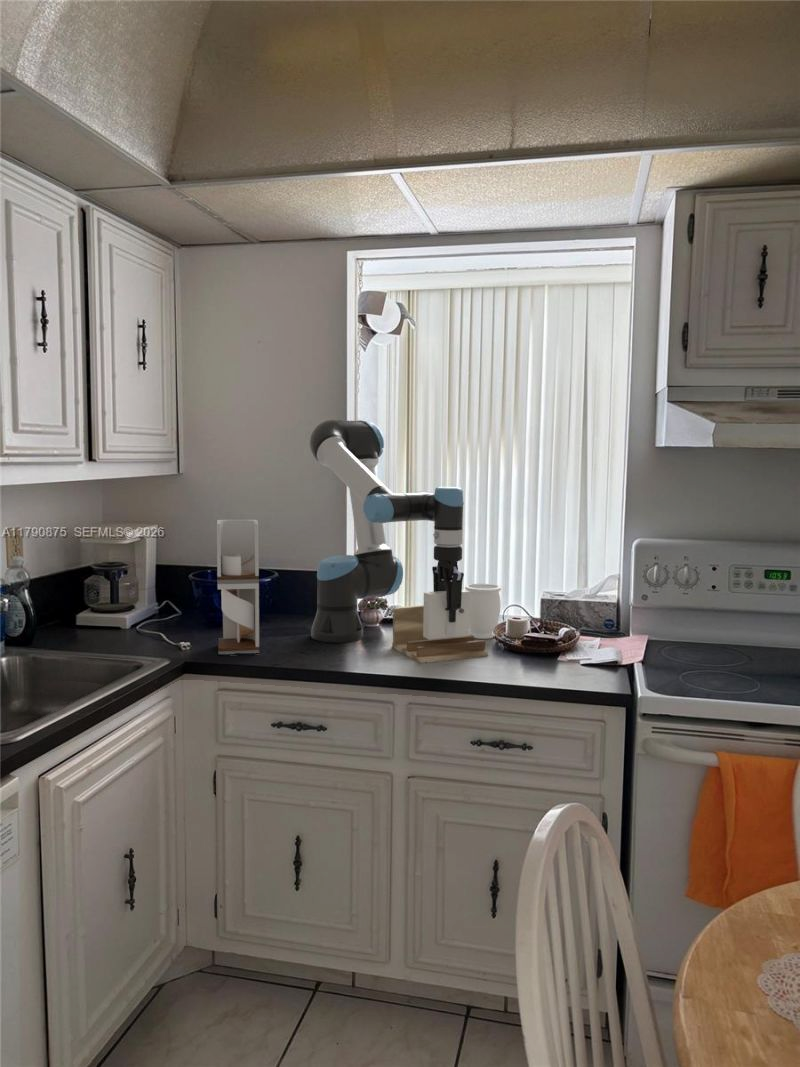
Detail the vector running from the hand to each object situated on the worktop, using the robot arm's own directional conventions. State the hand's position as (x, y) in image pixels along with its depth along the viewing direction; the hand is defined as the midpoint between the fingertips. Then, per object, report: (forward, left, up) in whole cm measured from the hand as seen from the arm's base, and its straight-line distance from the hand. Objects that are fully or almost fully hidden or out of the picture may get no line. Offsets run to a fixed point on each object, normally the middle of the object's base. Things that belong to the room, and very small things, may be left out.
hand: (446, 631), depth 214 cm
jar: (-15, +20, -6) cm, 26 cm away
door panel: (0, 0, -1) cm, 1 cm away
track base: (-4, 0, -6) cm, 8 cm away
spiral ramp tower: (-26, -50, -6) cm, 57 cm away
